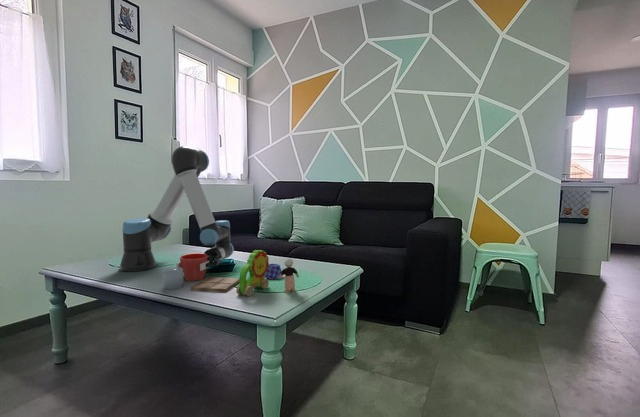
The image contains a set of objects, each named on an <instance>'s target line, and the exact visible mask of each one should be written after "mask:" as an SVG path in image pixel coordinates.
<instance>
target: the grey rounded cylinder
mask: <svg viewBox="0 0 640 417" xmlns="http://www.w3.org/2000/svg"><path fill="white" fill-rule="evenodd" d="M162 272H163V289H164V290H170V291H171V290H177V289H182V288H183V287H184V273H183V268H181V267H176V266H174V267H166V268H164V269H163V270H162Z"/></svg>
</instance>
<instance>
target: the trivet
mask: <svg viewBox="0 0 640 417" xmlns="http://www.w3.org/2000/svg"><path fill="white" fill-rule="evenodd" d="M238 282H239V277H238V278H236V277H235V278H234V277H216V276H214V277H213V276H207V277H206V278H203V279H202V280H200V281H198V283H196V284H194V285H192V286H191V287H190V291H198V292H200V291H201V292H212V293H213V292H214V293H217V292H218V293H226V292H229V290H231V289H232V288H233V287H235V286H236V285H237V284H239V283H238Z"/></svg>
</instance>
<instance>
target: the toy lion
mask: <svg viewBox="0 0 640 417" xmlns="http://www.w3.org/2000/svg"><path fill="white" fill-rule="evenodd" d="M269 258H270V257H269V256H268V254H267V252H266V251H264V250H261V249H260V250H259V249H258V250H257V249H255V250H253V251H252V252H251V253H250V254H249V257H248V259H247V262H246V263H245V264H244V265H243V266H242V268H241V270H240V273H239V277H238V278H239V283H238V285H237V286H236V295H245V297H251V296H252V295H253V293H254V288H262V289H264V290H265V289H267V288H268V287H269V283H270V282H269V279H265V273H266V272H267V268H268V266H269V264H270V263H269V261H270V260H269ZM248 272H249V276H248V278H247V275H248Z"/></svg>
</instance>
